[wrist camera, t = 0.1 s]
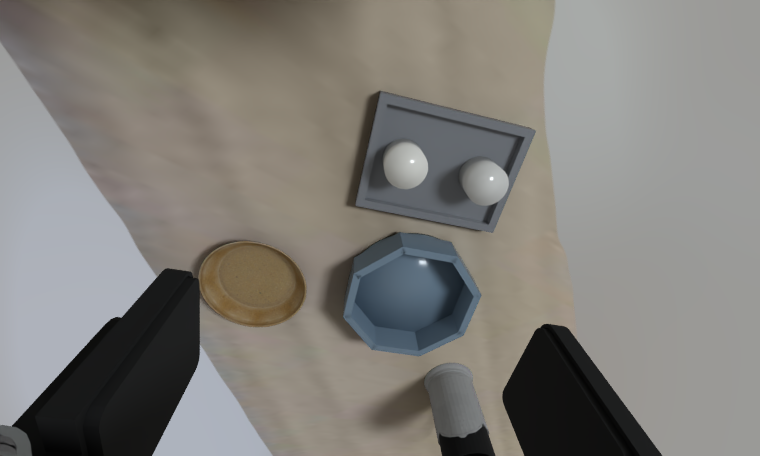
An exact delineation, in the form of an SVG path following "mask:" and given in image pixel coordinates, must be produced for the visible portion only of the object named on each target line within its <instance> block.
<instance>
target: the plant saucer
mask: <svg viewBox="0 0 760 456" xmlns="http://www.w3.org/2000/svg"><path fill="white" fill-rule="evenodd" d="M198 279H199V284H200V291H201V294H202V296H203V298H204V299H205V301H206V302H207V303H208V305H209V306H210V307H211V308H212V309H213V310H214V311H215V312H216V313H218V314H219V315H221V316H222V317H224V318H225V319H227V320H229V321H231V322H234V323H237V324H240V325H244V326H249V327H268V326H273V325H277V324H280V323H282V322H285V321H286V320H289V319H290V318H291V317H293V316H294V315H295V314H296V313H297V312H298V311H299V310H300V308H301V307H302V305H303V303H304V301H305V298H306V281H305V278H304V275H303V273H302V271H301V269H300V268H299V266H298V265H297V264H296V263H295V262H294V261H293V260H292V259H291V258H290V257H289V256H288V255H286V254H285V253H284V252H282V251H280V250H279V249H277V248H275V247H272V246H270V245H266V244H263V243H258V242H250V241H240V242H233V243H229V244H226V245H223V246H221V247H219V248H217V249H216V250H214V251H213V252H211V253H210V254H209V255H208V256H207V257H206V258H205V260H204V261H203V263H202V265H201V267H200V270H199V275H198Z"/></svg>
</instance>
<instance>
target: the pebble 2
mask: <svg viewBox="0 0 760 456" xmlns="http://www.w3.org/2000/svg"><path fill="white" fill-rule="evenodd" d="M458 179H459V183H460V186H461V187H462V189H463V190H464V191H465V193H466V194H467V196H468V197H469V198H470V200H471V201H472V202H474V203H475V204H477V205H481V206H488V205H492V204H494V203H496V202H498V201H499V200H501V199H502V198H503V197H504V195H505V194H506V192H507V190H508V186H509V180H508V176H507V174H506V173H505V171H504V170H502V169H501V168H500V167H499V166H498V165H497V164H496V163H495V162H493V161H492V160H491V159H490V158H487V157H484V156H477V157H473V158H471V159H469V160H468V161H466V162H465V163H464V164H463V166H462V167H461V169H460V171H459V176H458Z"/></svg>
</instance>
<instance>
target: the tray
mask: <svg viewBox="0 0 760 456" xmlns="http://www.w3.org/2000/svg"><path fill="white" fill-rule="evenodd" d="M535 132H536V131H535V130H533V129H531V128H529V127H525V126H521V125H517V124H513V123H509V122H505V121H501V120H497V119H493V118H489V117H484V116H480V115H476V114H472V113H468V112H464V111H460V110H456V109H452V108H448V107H444V106H440V105H436V104H432V103H428V102H424V101H420V100H416V99H412V98H408V97H404V96H400V95H396V94H392V93H388V92H384V91H380V93H379V98H378V102H377V107H376V111H375V116H374V120H373V125H372V129H371V134H370V138H369V142H368V147H367V151H366V156H365V160H364V165H363V169H362V174H361V178H360V183H359V187H358V192H357V196H356V205H355V206H359V207H364V208H369V209H375V210H380V211H385V212H390V213H395V214H400V215H405V216H410V217H415V218H420V219H425V220H430V221H435V222H441V223H446V224H451V225H456V226H461V227H466V228H471V229H476V230H481V231H486V232H491V233H493V231H494V229H495V227H496V224H497V222H498V220H499V217H500V215H501V213H502V210H503V208H504V205H505V203H506V201H507V198H508V196H509V194H510V191H511V189H512V187H513V184H514V182H515V179H516V177H517V175H518V172H519V170H520V168H521V165H522V163H523V161H524V158H525V156H526V154H527V151H528V149H529V146H530V144H531V142H532V139H533V137H534V135H535ZM402 138H403V139H410V140H412V141H414V142H415V143H417V144H418V146H419V147H420V148H421V150H422V152H423V154H424V155H425V157H426V159H427V162H428V172H427V175H426V177H425V179H424V180H423V181H422V182H421V183H420V184H419V185H418V186H416V187H414V188H411V189H400V188H397V187H395V186H393V185H392V184H391V183H390V182H389V181H388V180H387V178H386V176H385V172H384V166H383V160H382V159H383V153H384V150H385V149H386V147H387V146H388V145H389V144H390V143H391V142H393V141H395V140H397V139H402ZM477 156H484V157H487V158H490V159H491V160H492V161H493V162H495V163H496V164H497V165H498V166H499V167H500V168H501V169H502V170H504V171H505V173H506V174H507V176H508V180H509V186H508V190H507V192H506V194H505V195H504V197H503V198H502V199H501V200H499V201H498V202H496V203H494V204H492V205H488V206H481V205H477V204H475V203H474V202H472V201H471V200H470V198H469V197H468V196H467V194H466V193H465V191H464V190H463V189H462V187H461V186H460V183H459V179H458V176H459V171H460V169H461V167H462V166H463V164H464V163H465V162H466V161H468V160H469V159H471V158H473V157H477Z"/></svg>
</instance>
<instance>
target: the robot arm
mask: <svg viewBox="0 0 760 456" xmlns="http://www.w3.org/2000/svg"><path fill="white" fill-rule="evenodd" d="M199 355H200V284H199V279H197V278H193V275H192V273H191V272H189V271H182V270H175V269H169V268H167V269H165V270H163V271H162V272H161V274H160V275H159V276H158V277H157V278H156V279H155V280H154V282H153V283H152V284H151V285H150V286H149V287H148V288H147V290H146V291H145V292H144V293H143V294H142V295H141V296H140V298H139V299H138V300H137V301H136V302H135V303H134V304H133V305H132V307H131V308H130V309H129V310H128V311H127V312H126V313H125V315H124V316H123V317H122V318H120V317H115V318H113V319H111V320H110V321H109V322H107V323H106V324H105V325H104V326H103V327H102V329H101V330H100V331H99V332H98V333H97V334H96V335H95V336H94V337H93V338H92V339H91V340H90V342H89V343H88V344H87V345H86V346H85V347H84V348H83V349H82V350H81V351H80V352H79V354H78V355H77V356H76V357H75V358H74V359H73V360H72V361H71V362H70V363H69V364H68V366H67V367H66V368H65V369H64V370H63V371H62V372H61V373H60V374H59V376H58V377H57V378H56V379H55V380H54V381H53V382H52V383H51V384H50V385H49V386H48V387H47V388H46V390H45V391H44V392H43V393H42V394H41V395H40V396H39V397H38V398H37V399H36V401H34V403H33V404H32V405H31V406H30V407H29V408H28V409H27V410H26V411H25V412H24V413H23V415H22V416H21V417H20V418H19V419H18V420H17V421H16V422H15V423H14V424H13V425H12V427H11V426H5V425H1V426H0V456H152V454H153V453H154V451H155V449H156V447H157V445H158V443H159V441H160V439H161V437H162V435H163V433H164V431H165V429H166V427H167V425H168V423H169V421H170V419H171V417H172V415H173V413H174V411H175V409H176V407H177V405H178V404H179V401H180V400H181V398H182V395H183V394H184V392H185V390H186V388H187V386H188V384H189V382H190V380H191V378H192V376H193V374H194V372H195V370H196V368H197V365H198V361H199ZM503 403H504V406H505V409H506V411H507V414H508V416H509V419H510V421H511V423H512V426H513V428H514V431H515V433H516V436H517V438H518V441H519V443H520V446H521V448H522V451H523V453H524V456H662V455H661V453H660V452H659V451H658V449H657V448H656V447H655V445H654V444H653V443H652V441H651V440H650V438H649V437H648V436H647V434H646V433H645V432H644V430H643V429H642V428H641V426H640V425H639V424H638V422H637V421H636V420H635V418H634V417H633V415H632V414H631V413H630V411H629V410H628V409H627V407H626V406H625V405H624V403H623V402H622V401H621V399H620V398H619V396H618V395H617V394H616V392H615V391H614V390H613V388H612V387H611V386H610V384H609V383H608V382H607V380H606V379H605V378H604V376H603V375H602V373H601V372H600V371H599V369H598V368H597V367H596V365H595V364H594V363H593V361H592V360H591V359H590V357H589V356H588V355H587V353H586V352H585V351H584V349H583V348H582V346H581V345H580V344H579V343H578V341H577V340H576V338H575V337H574V336H573V334H572V333H571V332H570V330H569V329H568V328H567V327H564V326H558V325H551V324H544V325H542V326H541V328H538V329H536V331H535V332H534V334H533V336H532V338H531V340H530V342H529V343H528V345H527V347H526V349H525V351H524V353H523V355H522V357H521V358H520V360H519V362H518V364H517V366H516V368H515V370H514V371H513V373H512V375H511V377H510V379H509V381H508V383H507V385H506V386H505V388H504V391H503Z"/></svg>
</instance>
